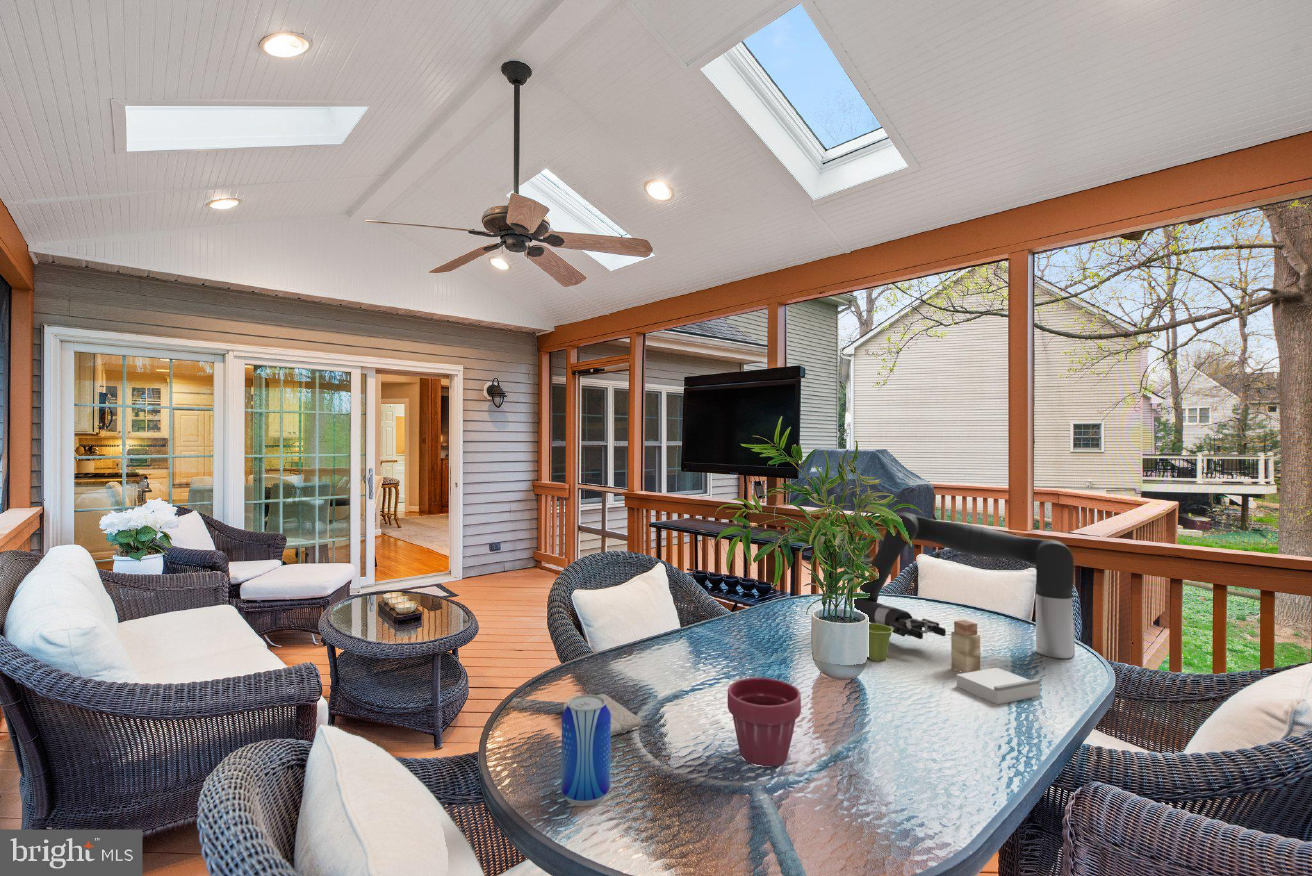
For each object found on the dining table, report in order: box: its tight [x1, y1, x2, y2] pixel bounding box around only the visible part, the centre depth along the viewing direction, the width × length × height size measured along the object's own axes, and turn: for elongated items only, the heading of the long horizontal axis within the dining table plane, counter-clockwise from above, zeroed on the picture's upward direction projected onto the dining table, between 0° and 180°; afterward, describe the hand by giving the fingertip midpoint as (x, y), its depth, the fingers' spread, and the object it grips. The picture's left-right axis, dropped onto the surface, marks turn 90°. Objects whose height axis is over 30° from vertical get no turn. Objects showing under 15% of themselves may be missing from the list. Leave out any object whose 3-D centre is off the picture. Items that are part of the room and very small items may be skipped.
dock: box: [955, 667, 1041, 705], centre depth 156 cm, size 14×12×4 cm
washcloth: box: [561, 693, 643, 735], centre depth 138 cm, size 12×18×3 cm, turn 35°
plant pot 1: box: [727, 677, 802, 767], centre depth 122 cm, size 14×14×13 cm
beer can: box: [560, 694, 612, 807], centre depth 108 cm, size 8×8×16 cm
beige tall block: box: [950, 619, 981, 673], centre depth 171 cm, size 5×5×13 cm
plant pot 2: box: [868, 622, 893, 662], centre depth 181 cm, size 9×9×9 cm
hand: (933, 634), depth 181 cm, fingers open, 8 cm apart
